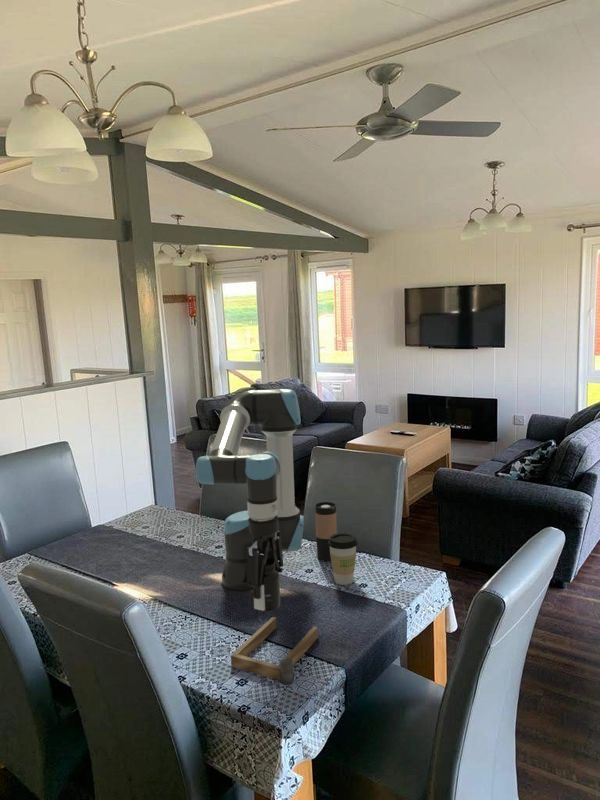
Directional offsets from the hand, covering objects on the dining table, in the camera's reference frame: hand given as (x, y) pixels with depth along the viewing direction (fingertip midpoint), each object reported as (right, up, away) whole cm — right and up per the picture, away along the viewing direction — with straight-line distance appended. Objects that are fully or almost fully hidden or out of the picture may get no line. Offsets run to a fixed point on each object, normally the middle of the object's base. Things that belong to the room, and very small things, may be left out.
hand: (267, 602), depth 150 cm
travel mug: (+18, -6, +64) cm, 67 cm away
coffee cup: (+23, -9, +45) cm, 51 cm away
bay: (+3, -15, +4) cm, 16 cm away
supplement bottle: (0, -1, 0) cm, 1 cm away
